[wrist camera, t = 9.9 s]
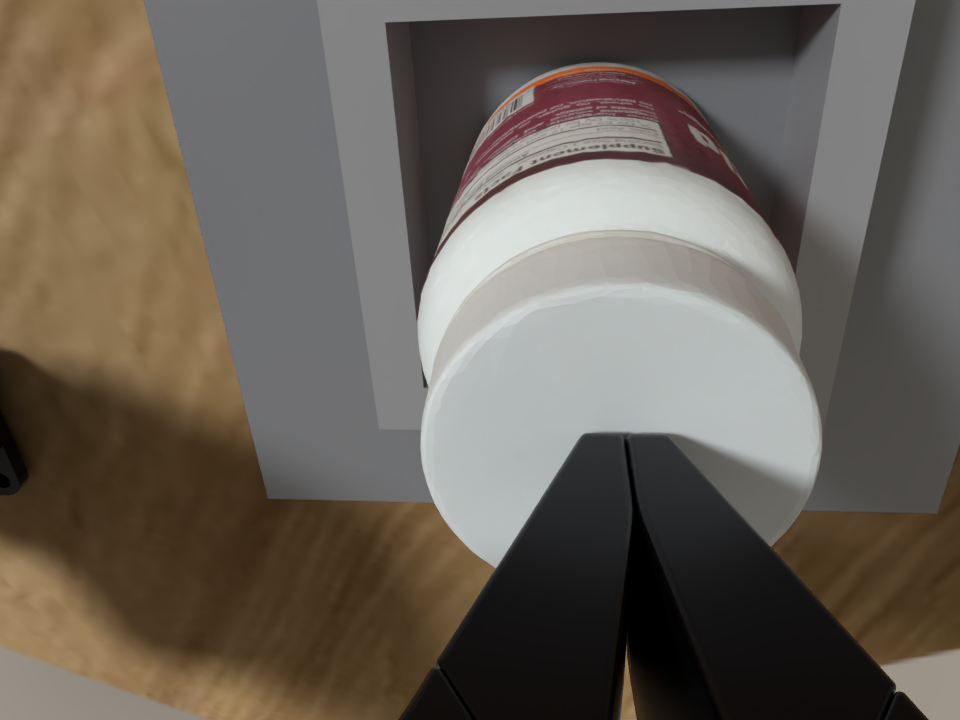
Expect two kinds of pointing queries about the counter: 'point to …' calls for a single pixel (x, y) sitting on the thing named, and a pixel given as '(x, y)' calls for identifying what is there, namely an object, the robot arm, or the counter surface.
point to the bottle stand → (445, 154)
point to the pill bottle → (609, 309)
